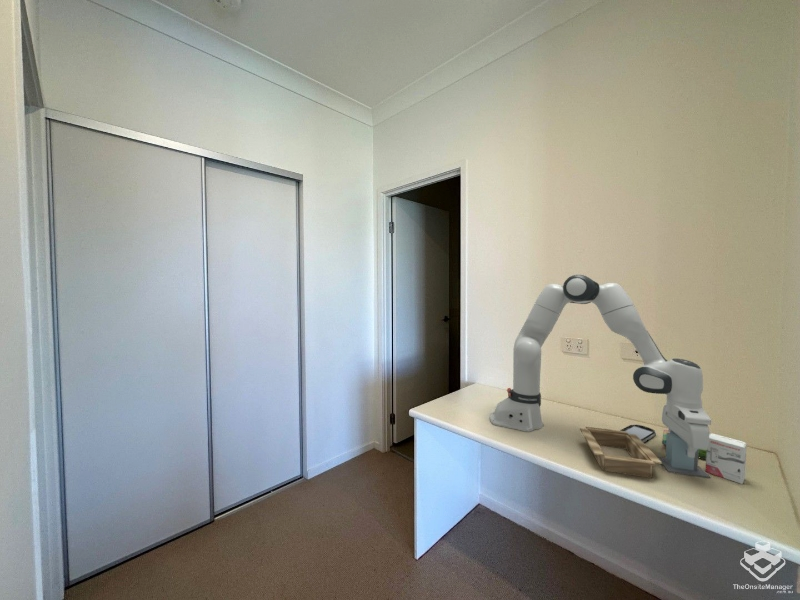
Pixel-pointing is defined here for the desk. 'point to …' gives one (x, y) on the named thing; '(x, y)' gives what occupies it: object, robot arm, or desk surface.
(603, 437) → the brown wooden rectangular frame
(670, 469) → the mat
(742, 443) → the ink box
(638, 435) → the gaming console
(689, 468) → the block
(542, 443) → the desk surface
